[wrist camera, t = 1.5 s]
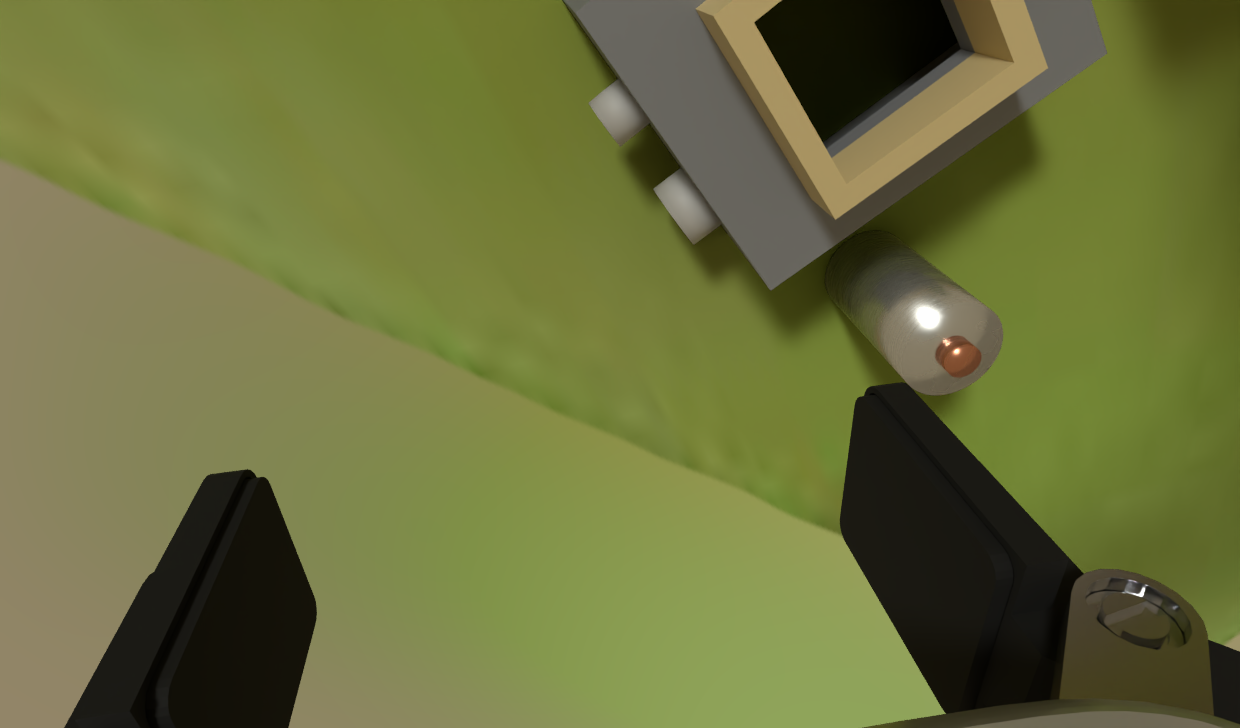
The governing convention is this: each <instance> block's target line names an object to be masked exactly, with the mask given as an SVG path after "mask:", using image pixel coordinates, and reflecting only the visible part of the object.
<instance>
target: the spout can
mask: <svg viewBox="0 0 1240 728" xmlns="http://www.w3.org/2000/svg"><path fill="white" fill-rule="evenodd" d="M825 286H826V290H827V293H828V295H829V297H830V298H831V299H832V300H833V302H834V303H835V304H836V305H837V306H838V307H839V308H840V309H841V310H842V312H843V313H844V314H845V315H846V316H847V317H848V318H849V319H850V320H851V322H852V323H853V324H854V325H855V326H856V327H857V328H858V329H859V330H860V332H861V333H862V334H863V335H864V336H865V337H866V338H867V339H868V340H869V341H870V343H871V344H872V345H873V346H874V347H875V348H876V349H877V350H878V351H879V353H880V354H881V355H882V356H883V357H884V358H885V359H886V360H887V361H888V363H889V364H890V365H891V366H892V367H893V368H894V369H895V370H896V371H897V372H898V374H899V375H900V376H901V377H902V378H903V379H904V380H905V381H906V382H907V384H908V385H909V386H910V387H912V388H913V389H914V390H916V391H918V392H920V393H923V394H927V395H946V394H950V393H953V392H956V391H959V390H961V389H963V388H965V387H967V386H969V385H971V384H972V383H974V382H975V381H976V380H978V379H979V378H980V377H981V376H982V375H983V374H984V373H985V372H986V371H987V370H988V369H989V368H990V367H991V365H992V364H993V363H994V361H995V359H996V358H997V356H998V354H999V351H1000V349H1001V345H1002V341H1003V329H1002V324H1001V322H1000V320H999V318H998V316H997V315H996V314H995V313H994V312H993V311H992V310H991V309H989V308H988V307H987V306H985V305H984V304H983V303H981V302H980V301H979V300H978V299H976V298H975V297H974V296H972V295H971V294H970V293H969V292H967V291H966V290H965V289H963V288H962V287H961V286H959V285H958V284H957V283H956V282H954V281H953V280H952V279H950V278H949V277H948V276H946V275H945V274H944V273H943V272H941V271H940V270H939V269H937V268H936V267H935V266H933V265H932V264H931V263H930V262H928V261H927V260H926V259H924V258H923V257H922V256H921V255H919V254H918V253H917V252H915V251H914V250H913V249H911V248H910V247H909V246H908V245H906V244H905V243H904V242H902V241H901V240H900V239H898V238H897V237H896V236H894V235H893V234H891V233H888V232H885V231H868V232H863V233H861V234H858V235H856V236H854V237H852V238H850V239H849V240H847V241H846V242H845V243H843V244H842V245H841V246H840V247H839V248H838V249H837V251H836V252H835V253H834V254H833V256H832V257H831V259H830V261H829V263H828V266H827V269H826V273H825Z"/></svg>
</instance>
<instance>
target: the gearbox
mask: <svg viewBox="0 0 1240 728" xmlns="http://www.w3.org/2000/svg"><path fill="white" fill-rule="evenodd" d="M563 1H564V3H565V4H566V6H567V7H568V9H569V10H570V11H571V13H572V14H573V16H574V17H575V18H576V20H577V21H578V23H579V24H580V26H581V27H582V28H583V30H584V31H585V33H586V34H587V35H588V37H589V38H590V40H591V41H592V43H593V44H594V45H595V47H596V48H597V50H598V51H599V52H600V54H601V55H602V57H603V58H604V60H605V61H606V62H607V64H608V65H609V67H610V68H611V69H612V71H613V72H614V74H615V75H616V77H617V78H618V79H617V80H616V81H615V82H613V83H612V84H611V85H610V86H608V87H607V88H606V89H605V90H604V91H602V92H601V93H600V94H599V95H597V96H596V97H595V98H594V99H593V100H591V101H590V102H589V105H590V106H591V108H592V109H593V111H594V112H595V114H596V115H597V116H598V118H599V119H600V121H601V122H602V123H603V125H604V126H605V127H606V129H607V130H608V132H609V133H610V134H611V136H612V137H613V138H614V139H615V141H616V142H617V143H618V144H619V146H622V145H623V144H624V143H625V142H627V141H628V140H629V139H630V138H632V137H633V136H634V135H635V134H637V133H638V132H639V131H640V130H642V129H643V128H644V127H646V126H647V125H648V124H649V123H650V125H651V126H652V128H653V129H654V130H655V132H656V133H657V135H658V136H659V137H660V139H661V140H662V142H663V143H664V145H665V146H666V147H667V149H668V150H669V152H670V153H671V154H672V156H673V157H674V159H675V160H676V162H677V163H678V164H679V166H680V167H681V168H680V169H678V170H677V171H676V172H674V173H673V174H672V175H671V176H669V177H668V178H667V179H665V180H664V181H663V182H661V183H660V184H659V185H658V186H656V187H655V188H654V191H655V193H656V194H657V196H658V197H659V199H660V200H661V202H662V203H663V204H664V206H665V207H666V209H667V210H668V212H669V213H670V214H671V216H672V217H673V218H674V220H675V221H676V223H677V224H678V225H679V227H680V228H681V229H682V231H683V232H684V233H685V235H686V236H687V237H688V239H689V240H690V241H691V242H692V243H693V245H694V244H696V243H697V242H698V241H700V240H701V239H702V238H704V237H705V236H706V235H708V234H709V233H710V232H712V231H713V230H715V229H716V228H717V227H719V226H720V225H722V227H723V228H724V230H725V231H726V232H727V234H728V235H729V236H730V238H731V239H732V240H733V242H734V243H735V244H736V246H737V247H738V248H739V250H740V251H741V252H742V254H743V255H744V256H745V258H746V259H747V260H748V262H749V263H750V264H751V265H752V267H753V268H754V269H755V271H756V272H757V273H758V275H759V276H760V277H761V279H762V280H763V281H764V283H765V284H766V285H767V287H768V288H769V289H770V291H771V290H772V289H774V288H775V287H777V286H778V285H779V284H781V283H782V282H784V281H785V280H786V279H788V278H789V277H791V276H792V275H794V274H795V273H796V272H798V271H799V270H801V269H802V268H803V267H805V266H806V265H808V264H809V263H811V262H812V261H813V260H815V259H816V258H818V257H819V256H820V255H822V254H823V253H825V252H826V251H828V250H829V249H830V248H832V247H833V246H835V245H836V244H837V243H839V242H840V241H842V240H843V239H845V238H846V237H847V236H849V235H850V234H852V233H853V232H854V231H856V230H857V229H859V228H860V227H862V226H863V225H864V224H866V223H867V222H869V221H870V220H872V219H873V218H874V217H876V216H877V215H879V214H880V213H881V212H883V211H884V210H886V209H887V208H889V207H890V206H891V205H893V204H894V203H896V202H897V201H898V200H900V199H901V198H903V197H904V196H906V195H907V194H908V193H910V192H911V191H913V190H914V189H915V188H917V187H918V186H920V185H921V184H923V183H924V182H925V181H927V180H928V179H930V178H931V177H932V176H934V175H935V174H937V173H938V172H940V171H941V170H942V169H944V168H945V167H947V166H948V165H949V164H951V163H952V162H954V161H955V160H957V159H958V158H959V157H961V156H962V155H964V154H965V153H966V152H968V151H969V150H971V149H972V148H974V147H975V146H976V145H978V144H979V143H981V142H982V141H983V140H985V139H986V138H988V137H989V136H991V135H992V134H993V133H995V132H996V131H998V130H999V129H1000V128H1002V127H1003V126H1005V125H1006V124H1008V123H1009V122H1010V121H1012V120H1013V119H1015V118H1016V117H1017V116H1019V115H1020V114H1022V113H1023V112H1025V111H1026V110H1027V109H1029V108H1030V107H1032V106H1033V105H1034V104H1036V103H1037V102H1039V101H1040V100H1042V99H1043V98H1044V97H1046V96H1047V95H1049V94H1050V93H1051V92H1053V91H1054V90H1056V89H1057V88H1059V87H1060V86H1061V85H1063V84H1064V83H1066V82H1067V81H1069V80H1070V79H1071V78H1073V77H1074V76H1076V75H1077V74H1078V73H1080V72H1081V71H1083V70H1084V69H1086V68H1087V67H1088V66H1090V65H1091V64H1093V63H1094V62H1095V61H1097V60H1098V59H1100V58H1101V57H1103V56H1104V55H1105V54H1107V51H1106V48H1105V45H1104V41H1103V38H1102V35H1101V31H1100V28H1099V25H1098V22H1097V18H1096V15H1095V12H1094V9H1093V5H1092V2H1091V0H941V2H942V5H943V7H944V10H945V12H946V14H947V17H948V19H949V21H950V24H951V26H952V29H953V31H954V33H955V36H956V38H957V40H958V42H957V43H956V44H955V45H953V46H952V47H950V48H949V49H948V50H946V51H945V52H944V53H942V54H941V55H940V56H938V57H937V58H936V59H934V60H933V61H932V62H930V63H929V64H928V65H926V66H925V67H924V68H922V69H921V70H920V71H918V72H917V73H915V74H914V75H913V76H911V77H910V78H909V79H907V80H906V81H905V82H903V83H902V84H901V85H899V86H898V87H897V88H895V89H894V90H893V91H891V92H890V93H889V94H887V95H886V96H885V97H883V98H882V99H880V100H879V101H878V102H876V103H875V104H874V105H872V106H871V107H870V108H868V109H867V110H866V111H864V112H863V113H862V114H860V115H859V116H858V117H856V118H855V119H854V120H852V121H851V122H849V123H848V124H847V125H845V126H844V127H843V128H841V129H840V130H839V131H837V132H836V133H835V134H833V135H832V136H831V137H829V138H828V139H827V140H825V141H824V142H822V141H821V139H820V137H819V135H818V134H817V132H816V130H815V128H814V127H813V125H812V123H811V121H810V120H809V118H808V116H807V114H806V113H805V111H804V109H803V107H802V106H801V104H800V102H799V100H798V99H797V97H796V95H795V93H794V92H793V90H792V88H791V86H790V85H789V83H788V81H787V79H786V78H785V76H784V74H783V72H782V71H781V69H780V67H779V65H778V64H777V62H776V60H775V58H774V57H773V55H772V53H771V51H770V50H769V48H768V46H767V44H766V43H765V41H764V39H763V37H762V36H761V34H760V32H759V30H758V29H757V27H756V25H755V23H754V22H755V21H756V20H758V19H759V18H760V17H761V16H763V15H764V14H765V13H766V12H768V11H769V10H770V9H771V8H773V7H774V6H775V5H776V4H778V3H779V2H780V1H781V0H563Z"/></svg>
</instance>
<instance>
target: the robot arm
mask: <svg viewBox="0 0 1240 728" xmlns="http://www.w3.org/2000/svg"><path fill="white" fill-rule="evenodd" d="M840 527H841V532H842V535H843V538H844V540H845V542H846V544H847V546H848V547H849V549H850V551H851V552H852V554H853V556H854V557H855V559H856V561H857V563H858V565H859V566H860V568H861V570H862V571H863V573H864V575H865V577H866V578H867V580H868V582H869V584H870V585H871V587H872V589H873V590H874V592H875V594H876V596H877V597H878V599H879V601H880V602H881V604H882V606H883V608H884V609H885V611H886V613H887V614H888V616H889V618H890V619H891V621H892V623H893V625H894V626H895V628H896V630H897V632H898V633H899V635H900V637H901V639H902V640H903V642H904V644H905V645H906V647H907V649H908V651H909V652H910V654H911V656H912V657H913V659H914V661H915V663H916V664H917V666H918V668H919V669H920V671H921V673H922V675H923V676H924V678H925V680H926V681H927V683H928V685H929V686H930V688H931V690H932V692H933V694H934V695H935V697H936V699H937V700H938V702H939V704H940V706H941V707H942V708H943V710H944V712H945V713H946V714H943V715H937V716H930V717H924V718H917V719H911V720H905V721H898V722H893V723H887V724H881V725H875V726H870V727H864V728H1240V652H1239V651H1236V650H1233V649H1231V648H1229V647H1226V646H1223V645H1221V644H1218V643H1215V642H1213V641H1210V640H1208V634H1207V631H1206V628H1205V625H1204V622H1203V620H1202V618H1201V617H1200V616H1199V614H1198V613H1197V612H1196V610H1195V609H1194V608H1193V606H1192V605H1191V604H1189V603H1188V602H1187V601H1186V600H1185V599H1184V598H1182V597H1181V596H1180V595H1179V594H1178V593H1176V592H1175V591H1173V590H1171V589H1170V588H1168V587H1166V586H1165V585H1163V584H1161V583H1160V582H1158V581H1155V580H1153V579H1150V578H1148V577H1145V576H1143V575H1140V574H1137V573H1133V572H1128V571H1124V570H1119V569H1098V570H1094V571H1090V572H1086V573H1085V574H1083V572H1082V571H1081V570H1080V569H1079V568H1078V567H1077V566H1076V565H1075V564H1074V563H1073V562H1072V561H1071V560H1070V558H1069V557H1068V556H1067V555H1066V554H1065V553H1064V552H1063V551H1062V550H1061V549H1060V548H1059V547H1058V546H1057V544H1056V543H1055V542H1054V541H1053V540H1052V539H1051V538H1050V537H1049V536H1048V535H1047V534H1046V533H1045V532H1044V530H1043V529H1042V528H1041V527H1040V526H1039V525H1038V524H1037V523H1036V522H1035V521H1034V520H1033V519H1032V518H1031V516H1030V515H1029V514H1028V513H1027V512H1026V511H1025V510H1024V509H1023V508H1022V507H1021V506H1020V505H1019V504H1018V502H1017V501H1016V500H1015V499H1014V498H1013V497H1012V496H1011V495H1010V494H1009V493H1008V492H1007V491H1006V489H1005V488H1004V487H1003V486H1002V485H1001V484H1000V483H999V482H998V481H997V480H996V479H995V478H994V477H993V475H992V474H991V473H990V472H989V471H988V470H987V469H986V468H985V467H984V466H983V465H982V464H981V463H980V462H979V461H978V460H977V459H976V457H975V456H974V455H973V454H972V453H971V452H970V451H969V450H968V449H967V448H966V447H965V446H964V445H963V443H962V442H961V441H960V440H959V439H958V438H957V437H956V436H955V435H954V434H953V433H952V432H951V430H950V429H949V428H948V427H947V426H946V425H945V424H944V423H943V422H942V421H941V420H940V419H939V418H938V416H937V415H936V414H935V413H934V412H933V411H932V410H931V409H930V408H929V407H928V406H927V405H926V404H925V402H924V401H923V400H922V399H921V398H920V397H919V396H918V395H917V394H916V393H915V392H914V391H913V390H912V388H911V387H910V386H909V385H907V384H906V383H902V382H901V383H893V384H886V385H878V386H871V387H869V388H867V390H866V392H865V395H864V396H862V397H859V398H857V400H856V402H855V408H854V415H853V423H852V430H851V438H850V446H849V453H848V461H847V468H846V476H845V484H844V491H843V499H842V507H841V514H840ZM316 615H317V610H316V601H315V598H314V595H313V592H312V590H311V587H310V585H309V582H308V580H307V577H306V574H305V572H304V569H303V567H302V564H301V562H300V559H299V557H298V554H297V552H296V549H295V547H294V544H293V541H292V539H291V537H290V534H289V531H288V529H287V526H286V524H285V521H284V518H283V516H282V514H281V511H280V508H279V506H278V503H277V501H276V498H275V496H274V493H273V491H272V488H271V486H270V483H269V481H268V480H267V479H266V478H265V477H260V478H257V477H256V475H255V474H254V473H253V472H252V471H251V470H248V469H247V470H240V471H232V472H224V473H217V474H210V475H208V476H207V477H206V478H205V479H204V480H203V482H202V484H201V486H200V488H199V490H198V491H197V493H196V495H195V497H194V499H193V501H192V502H191V504H190V506H189V508H188V510H187V512H186V514H185V516H184V517H183V519H182V521H181V523H180V525H179V527H178V528H177V530H176V532H175V534H174V536H173V538H172V540H171V541H170V543H169V545H168V547H167V549H166V551H165V553H164V555H163V557H162V558H161V560H160V562H159V564H158V566H157V568H156V569H155V572H153V573H152V574H150V575H149V576H148V578H147V579H146V580H145V582H144V583H143V584H142V586H141V588H140V590H139V592H138V594H137V595H136V597H135V599H134V601H133V603H132V605H131V607H130V608H129V610H128V612H127V614H126V616H125V617H124V619H123V621H122V623H121V625H120V627H119V629H118V630H117V632H116V634H115V636H114V638H113V640H112V641H111V643H110V645H109V647H108V649H107V651H106V652H105V654H104V656H103V658H102V660H101V661H100V663H99V665H98V667H97V669H96V671H95V672H94V674H93V676H92V678H91V680H90V682H89V683H88V685H87V687H86V689H85V691H84V693H83V694H82V696H81V698H80V700H79V702H78V704H77V706H76V707H75V709H74V711H73V713H72V715H71V717H70V718H69V720H68V722H67V724H66V726H65V727H64V728H288V726H289V722H290V719H291V715H292V711H293V707H294V704H295V700H296V696H297V692H298V688H299V684H300V681H301V677H302V673H303V669H304V665H305V662H306V658H307V654H308V650H309V646H310V643H311V639H312V635H313V631H314V627H315V623H316Z"/></svg>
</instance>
